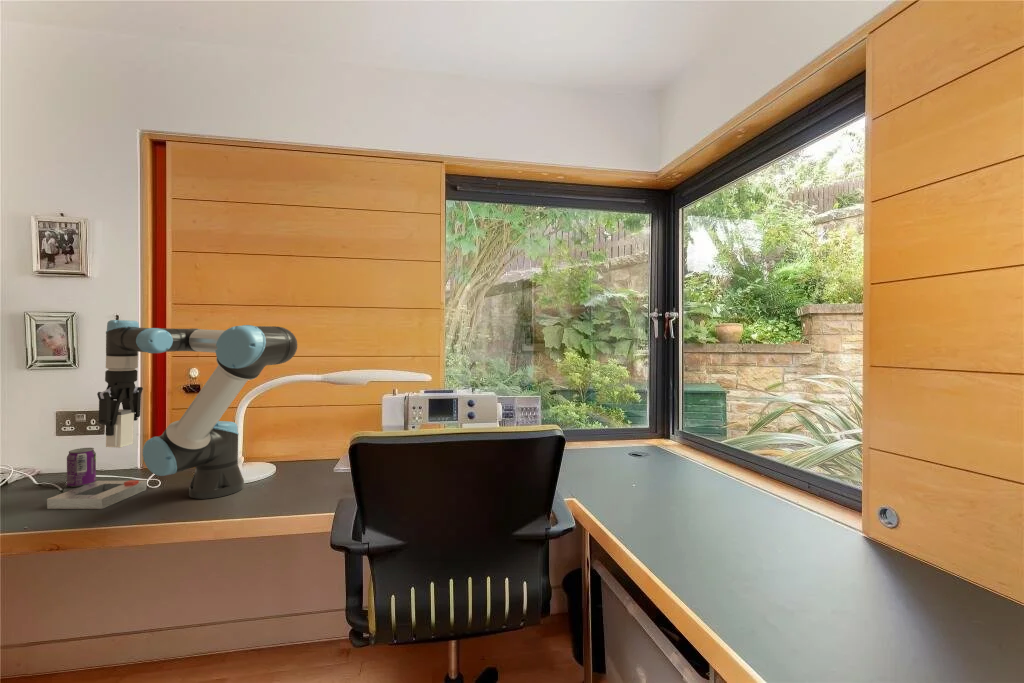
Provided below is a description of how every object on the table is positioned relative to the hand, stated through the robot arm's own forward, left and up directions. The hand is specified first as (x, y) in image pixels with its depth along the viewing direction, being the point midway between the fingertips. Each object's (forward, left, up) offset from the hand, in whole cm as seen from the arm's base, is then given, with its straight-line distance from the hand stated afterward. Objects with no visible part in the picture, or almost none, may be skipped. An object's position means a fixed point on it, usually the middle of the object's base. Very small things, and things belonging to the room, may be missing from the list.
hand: (119, 443), depth 137 cm
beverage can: (+24, -13, -18) cm, 33 cm away
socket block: (+6, 0, -18) cm, 19 cm away
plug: (0, 0, -1) cm, 1 cm away
